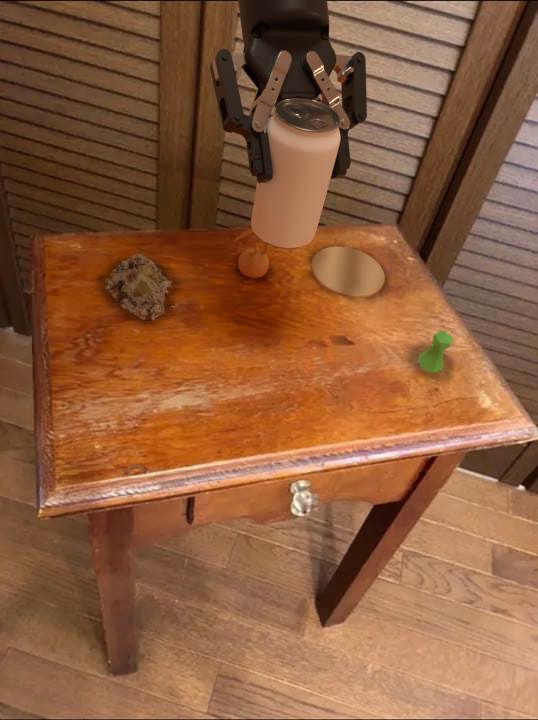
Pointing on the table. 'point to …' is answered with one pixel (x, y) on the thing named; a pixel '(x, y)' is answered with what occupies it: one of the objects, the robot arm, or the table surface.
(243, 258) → the figurine
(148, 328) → the table surface
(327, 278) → the ash disc
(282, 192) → the can
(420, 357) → the game piece
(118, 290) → the mineral rock
